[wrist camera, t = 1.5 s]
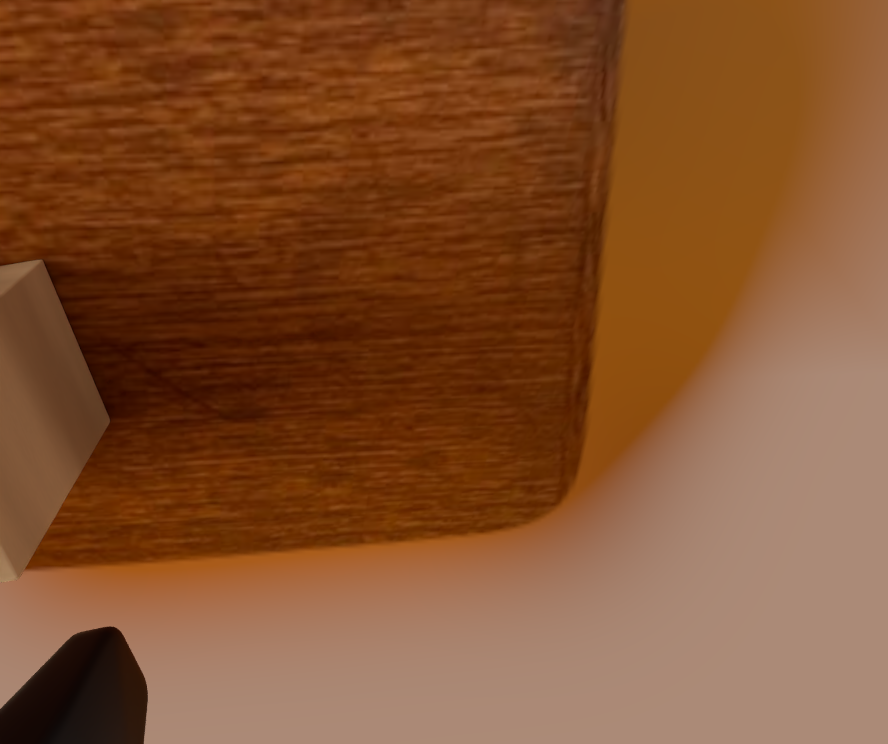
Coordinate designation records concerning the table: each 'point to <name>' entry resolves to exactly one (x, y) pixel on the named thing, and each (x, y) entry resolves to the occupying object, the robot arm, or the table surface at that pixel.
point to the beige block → (39, 411)
